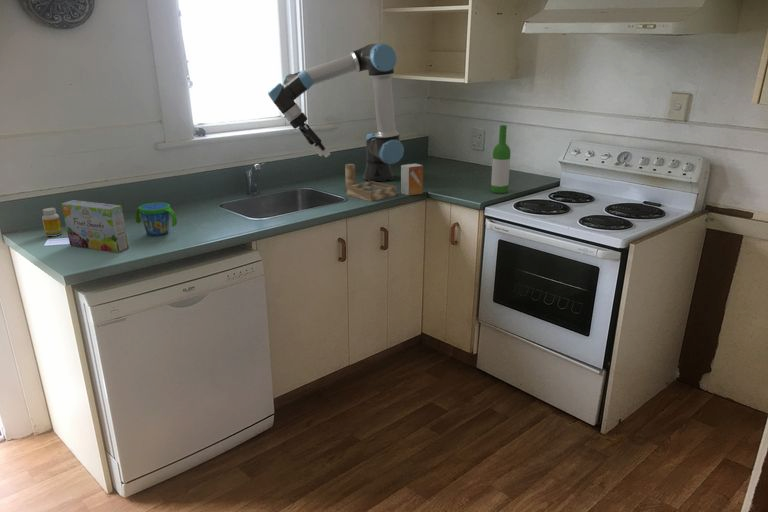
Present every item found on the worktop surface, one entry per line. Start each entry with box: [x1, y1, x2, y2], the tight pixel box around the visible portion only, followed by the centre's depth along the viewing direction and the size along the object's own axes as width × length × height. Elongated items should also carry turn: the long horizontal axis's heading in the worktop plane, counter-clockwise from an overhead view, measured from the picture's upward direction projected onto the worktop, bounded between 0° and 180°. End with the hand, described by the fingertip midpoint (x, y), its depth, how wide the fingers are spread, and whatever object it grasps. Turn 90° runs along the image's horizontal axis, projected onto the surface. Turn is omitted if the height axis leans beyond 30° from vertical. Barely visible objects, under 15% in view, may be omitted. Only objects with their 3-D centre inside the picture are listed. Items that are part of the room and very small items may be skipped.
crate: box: [345, 181, 397, 202], centre depth 266 cm, size 16×16×4 cm
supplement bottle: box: [41, 207, 63, 237], centre depth 210 cm, size 5×5×10 cm
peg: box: [344, 163, 356, 187], centre depth 274 cm, size 4×4×12 cm
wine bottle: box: [490, 124, 511, 194], centre depth 266 cm, size 8×8×30 cm
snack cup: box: [134, 202, 178, 236], centre depth 211 cm, size 16×10×10 cm
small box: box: [400, 163, 424, 196], centre depth 267 cm, size 8×6×13 cm
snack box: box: [61, 199, 130, 254], centre depth 195 cm, size 21×6×15 cm, turn 69°
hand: (325, 155), depth 267 cm, fingers open, 13 cm apart
